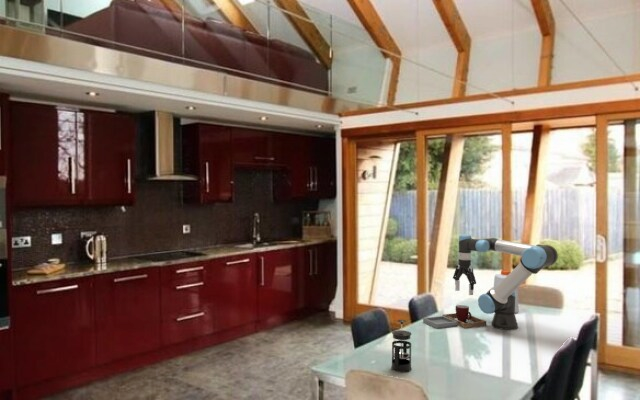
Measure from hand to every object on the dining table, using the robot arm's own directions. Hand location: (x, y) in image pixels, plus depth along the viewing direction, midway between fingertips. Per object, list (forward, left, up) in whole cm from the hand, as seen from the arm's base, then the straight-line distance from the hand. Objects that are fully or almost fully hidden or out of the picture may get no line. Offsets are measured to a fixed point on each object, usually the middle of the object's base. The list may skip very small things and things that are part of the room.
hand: (464, 292), depth 316 cm
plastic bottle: (+14, -45, -19) cm, 51 cm away
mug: (0, 0, -19) cm, 19 cm away
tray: (+1, +17, -19) cm, 25 cm away
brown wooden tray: (0, 0, -19) cm, 19 cm away
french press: (-57, +79, -19) cm, 99 cm away
